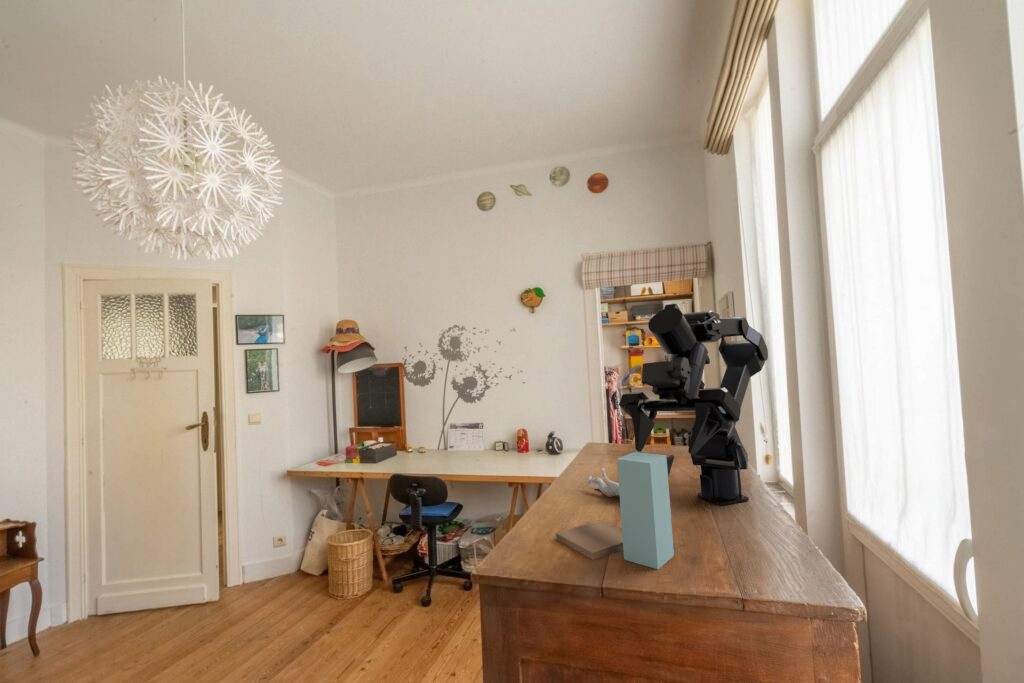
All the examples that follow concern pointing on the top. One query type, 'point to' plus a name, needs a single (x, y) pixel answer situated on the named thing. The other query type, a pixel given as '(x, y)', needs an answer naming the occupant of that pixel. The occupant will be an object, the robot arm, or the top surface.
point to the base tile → (593, 539)
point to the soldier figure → (605, 485)
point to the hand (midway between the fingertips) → (663, 452)
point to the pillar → (645, 509)
